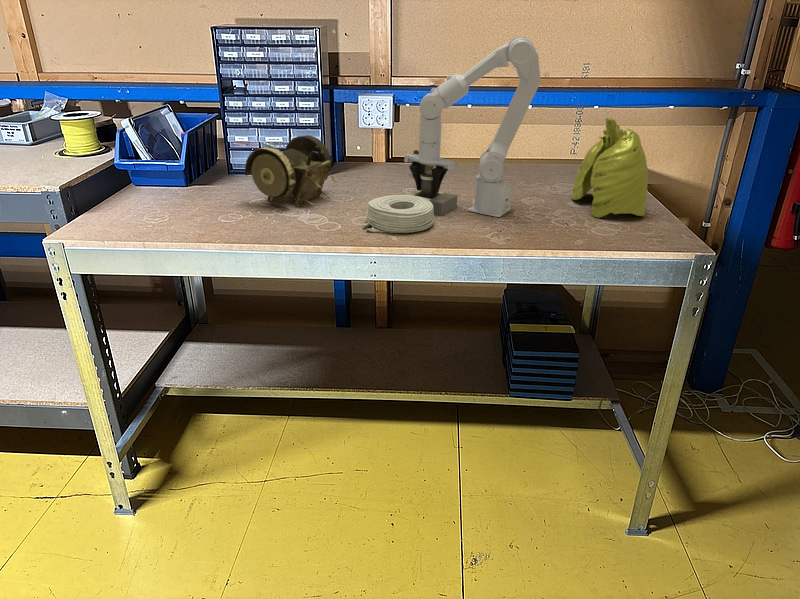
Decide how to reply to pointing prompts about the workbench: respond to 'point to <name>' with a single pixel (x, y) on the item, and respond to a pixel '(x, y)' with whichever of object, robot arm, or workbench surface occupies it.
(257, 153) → the bench grinder
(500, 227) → the workbench surface
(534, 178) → the workbench surface
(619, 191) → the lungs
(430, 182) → the knob
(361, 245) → the workbench surface
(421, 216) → the cable
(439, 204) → the hollow square frame
